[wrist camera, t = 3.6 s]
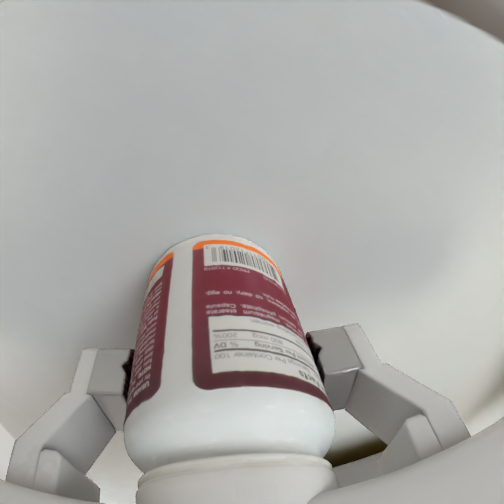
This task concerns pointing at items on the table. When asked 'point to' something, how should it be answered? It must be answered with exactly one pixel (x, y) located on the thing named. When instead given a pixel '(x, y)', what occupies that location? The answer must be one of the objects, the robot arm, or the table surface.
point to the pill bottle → (225, 383)
